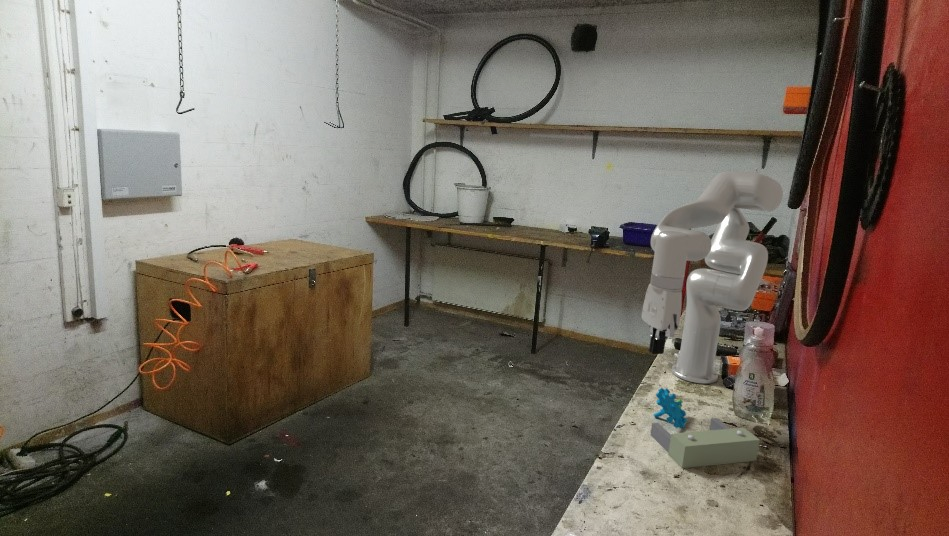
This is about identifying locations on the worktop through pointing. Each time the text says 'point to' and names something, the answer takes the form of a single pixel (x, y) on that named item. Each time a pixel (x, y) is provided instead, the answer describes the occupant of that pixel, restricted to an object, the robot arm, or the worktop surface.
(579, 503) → the worktop surface
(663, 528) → the worktop surface
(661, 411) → the blue bumpy irregular piece
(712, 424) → the grey-green u-shaped bracket
